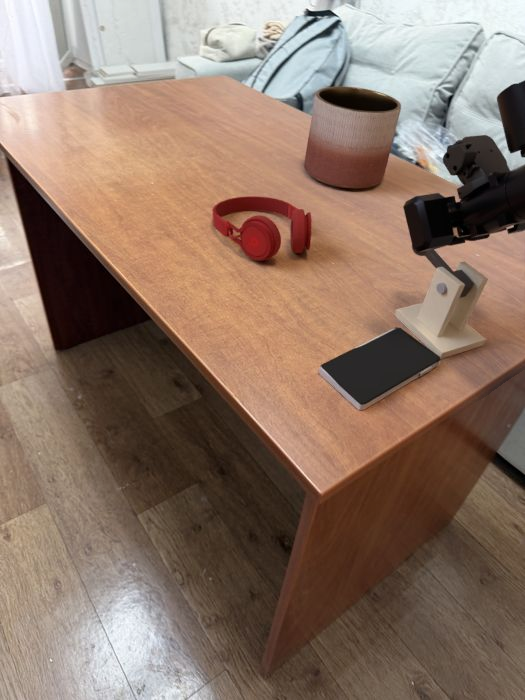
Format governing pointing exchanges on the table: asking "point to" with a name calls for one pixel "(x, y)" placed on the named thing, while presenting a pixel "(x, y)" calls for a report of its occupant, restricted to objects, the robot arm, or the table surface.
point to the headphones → (263, 226)
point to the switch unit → (446, 313)
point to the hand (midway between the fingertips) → (426, 234)
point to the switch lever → (439, 262)
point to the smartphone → (378, 367)
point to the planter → (351, 136)
